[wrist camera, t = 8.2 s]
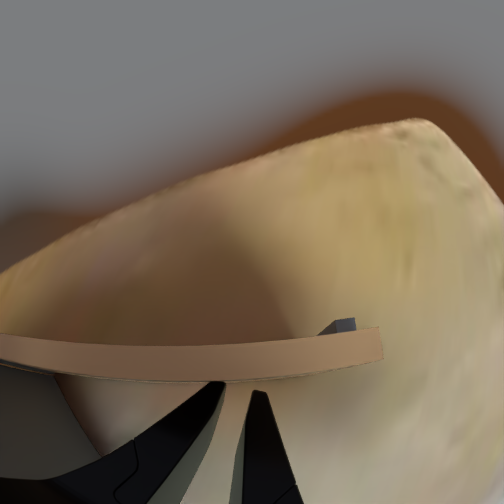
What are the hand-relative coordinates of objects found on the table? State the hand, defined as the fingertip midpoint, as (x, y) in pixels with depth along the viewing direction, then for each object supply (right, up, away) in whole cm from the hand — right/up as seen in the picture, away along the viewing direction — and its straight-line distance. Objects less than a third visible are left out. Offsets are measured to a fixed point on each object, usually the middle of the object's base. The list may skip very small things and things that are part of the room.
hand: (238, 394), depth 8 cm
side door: (-5, -2, +6) cm, 8 cm away
